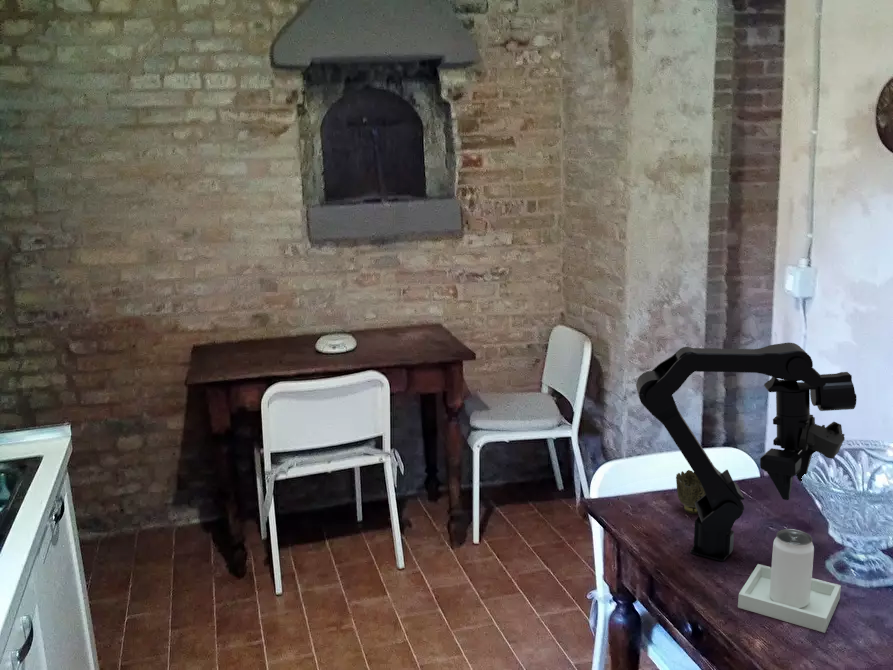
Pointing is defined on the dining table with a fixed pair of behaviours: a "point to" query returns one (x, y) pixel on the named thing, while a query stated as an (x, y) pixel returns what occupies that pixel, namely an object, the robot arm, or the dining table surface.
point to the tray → (811, 616)
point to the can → (792, 568)
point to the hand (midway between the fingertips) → (793, 490)
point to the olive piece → (689, 490)
